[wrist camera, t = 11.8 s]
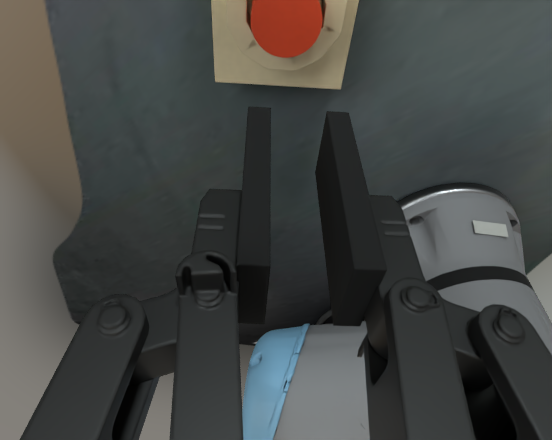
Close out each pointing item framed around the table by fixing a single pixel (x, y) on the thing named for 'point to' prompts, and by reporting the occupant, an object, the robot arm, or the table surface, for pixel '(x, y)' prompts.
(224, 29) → the button console
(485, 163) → the table surface
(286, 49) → the button
